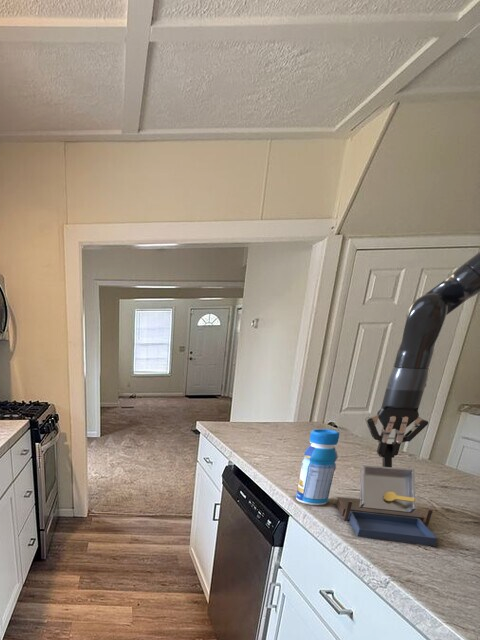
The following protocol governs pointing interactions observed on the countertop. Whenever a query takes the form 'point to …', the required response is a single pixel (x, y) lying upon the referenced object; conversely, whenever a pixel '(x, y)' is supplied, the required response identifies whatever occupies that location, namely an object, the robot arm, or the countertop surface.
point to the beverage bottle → (318, 467)
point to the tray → (391, 528)
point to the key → (397, 497)
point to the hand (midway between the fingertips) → (386, 456)
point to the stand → (376, 510)
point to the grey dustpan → (386, 485)
